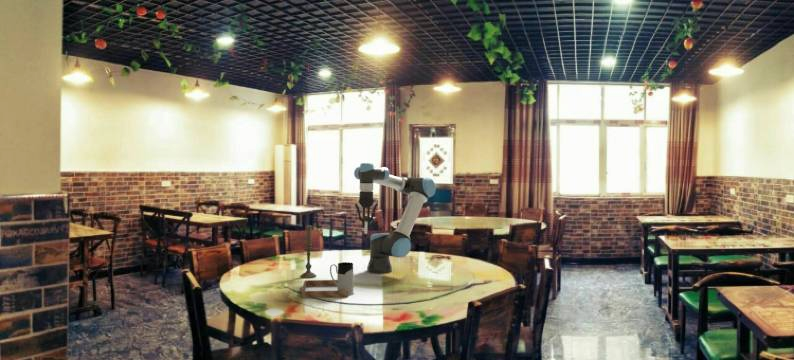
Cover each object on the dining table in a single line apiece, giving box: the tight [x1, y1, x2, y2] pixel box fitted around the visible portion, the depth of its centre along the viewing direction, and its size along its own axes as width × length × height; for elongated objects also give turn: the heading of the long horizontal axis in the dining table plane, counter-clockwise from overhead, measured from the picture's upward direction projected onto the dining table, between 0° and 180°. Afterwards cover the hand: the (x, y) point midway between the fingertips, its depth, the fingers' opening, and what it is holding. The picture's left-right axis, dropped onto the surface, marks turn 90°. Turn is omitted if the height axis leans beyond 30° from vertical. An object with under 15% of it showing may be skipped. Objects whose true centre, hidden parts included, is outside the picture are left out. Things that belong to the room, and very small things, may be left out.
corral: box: [300, 279, 349, 299], centre depth 246 cm, size 22×24×3 cm
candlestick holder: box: [299, 225, 317, 279], centre depth 279 cm, size 9×9×30 cm
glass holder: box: [329, 262, 355, 297], centre depth 243 cm, size 9×14×15 cm, turn 57°
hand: (365, 233), depth 270 cm, fingers closed
